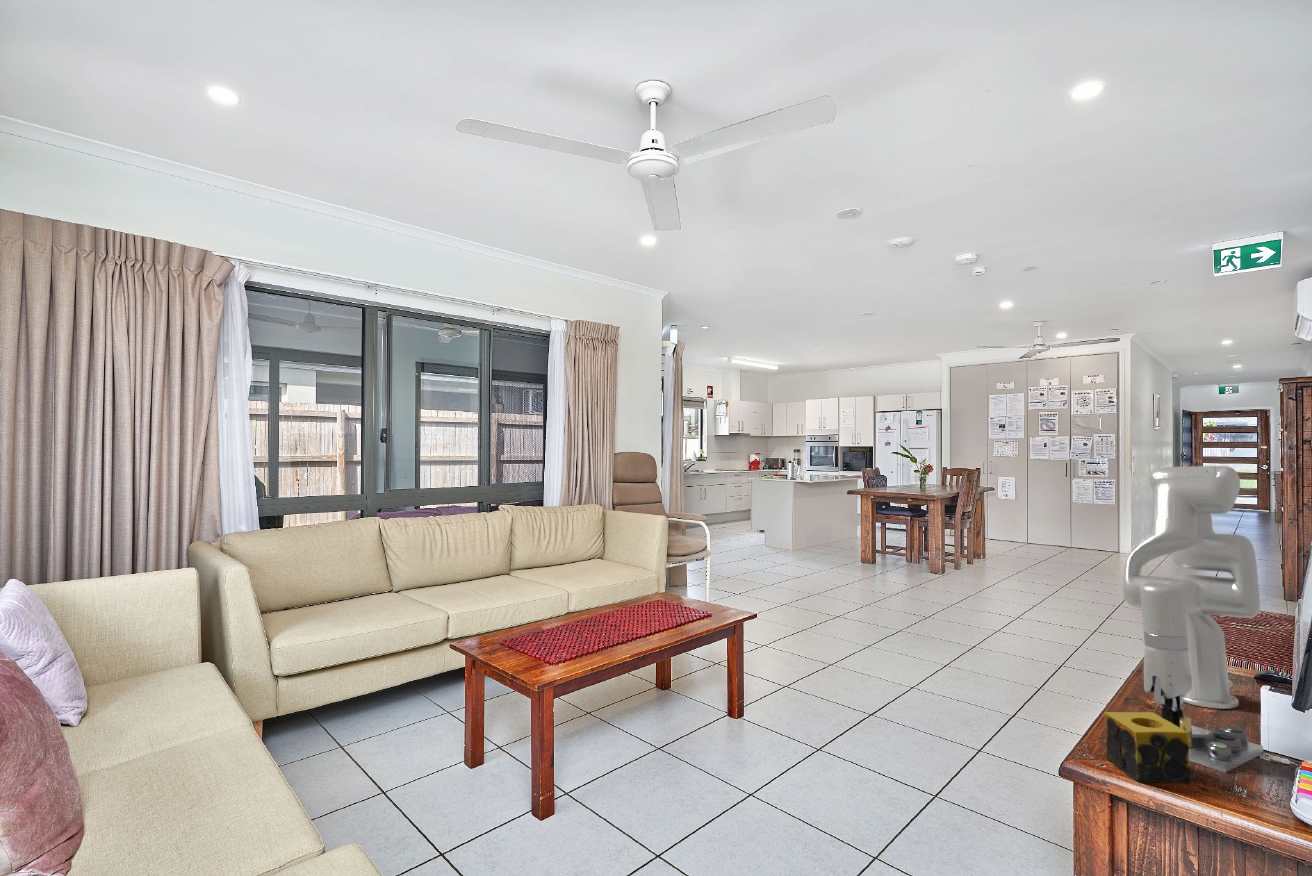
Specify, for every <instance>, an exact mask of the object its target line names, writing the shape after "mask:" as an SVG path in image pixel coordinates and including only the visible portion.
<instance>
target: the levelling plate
mask: <svg viewBox="0 0 1312 876" xmlns="http://www.w3.org/2000/svg"><path fill="white" fill-rule="evenodd" d="M1213 731H1214V730H1210V729H1205V728H1202V727H1198V726H1195V725H1192V734H1198V735H1209V733H1210V732H1213ZM1221 731H1226V732H1230V733H1233V734H1234V735H1235V736H1237V737H1238V738H1240V740H1241V751H1239V752H1231V748H1230V747H1229V746H1227V745H1225V744H1223V743H1220V742H1210V743H1207V748H1206V747H1189V753H1188V755H1189V762H1192V763H1196V764H1199V765H1201V766H1205V767H1208V768H1211V769H1214V770H1217V771H1219V772H1223V773H1225V774H1226V773H1227V772H1229V771H1231V770H1234V769H1235V768H1238V767H1239V766H1242V765H1243V764H1245V763H1247V762H1249V761H1251V760H1253V759H1255V758H1257V757H1258V756H1260V754H1261V753H1262V752H1263V753H1264V746H1263V745H1260V744H1257V743H1254V742H1251V741H1248V732H1247V730H1245V729H1243V728H1240V727H1238V726H1232V725H1224V726H1222V727H1221ZM1261 755H1262V754H1261Z"/></svg>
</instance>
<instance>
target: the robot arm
mask: <svg viewBox="0 0 1312 876" xmlns="http://www.w3.org/2000/svg"><path fill="white" fill-rule="evenodd" d="M1148 478H1149V479H1148V480H1149V484H1150V487H1151V489H1152V501H1151V502H1152V503H1151V516H1150V517H1151V519H1150V532H1149V535H1148V536H1147V537H1146V538H1144V539H1143V540H1141V542H1139V543H1138V544H1137V545H1135V547H1134V548H1133V549H1132V550H1131V551H1130V552H1129V554H1128V556H1127V557H1126V560H1125V562H1124V567H1123V568H1124V569H1123V579H1122V593H1123V594H1122V595H1123V598H1124V600H1125V601H1126V603H1127V604H1128V605H1130V606H1132V607H1134V608H1138V609H1141V615H1142V616H1141V619H1142V627H1143V641H1144V647H1145V648H1144V654H1143V686H1144V689H1143V690H1144V692H1145V693H1146V694H1153V693H1154V695H1153V696H1154V697H1153V701H1154V703H1155V704H1159V707H1160V708H1161V710H1160V711H1161V717H1162V718H1163V719H1165V720H1167V721H1169V722H1171V723H1173V724H1174V725H1176V726H1178V727H1180V726H1179V716H1184V715H1183V709H1184V703H1186V704H1189V705H1193V706H1197V707H1202V708H1210V709H1218V710H1219V709H1221V710H1222V709H1223V710H1225V709H1227V710H1228V709H1235V708H1237V707H1239V705H1240V703H1239V699H1238V698H1237V697H1235V696H1234V695H1231V694H1230V688H1231V687H1233V686H1234V683H1233V681H1231V680H1230V679H1229V673H1228V662H1227V661H1228V660H1227V649H1226V639H1225V634H1224V633H1225V632H1224V630H1223V629H1222V627H1221V626H1220V624H1218V622H1216V620H1214V619H1213V617H1212V616H1222V617H1232V618H1240V619H1242V618H1243V619H1250V618H1251V619H1253V618H1255V617H1257V616H1258V615H1259V612H1260V609H1261V599H1260V597H1261V596H1260V586H1259V585H1260V584H1259V577H1258V576H1259V575H1258V574H1259V573H1258V567H1257V566H1258V565H1257V558H1256V552H1255V548H1254V545H1253V544H1252V541H1251V540H1250V539H1249V538H1248V537H1246V536H1244V535H1240V534H1235V533H1234V534H1231V533H1216V532H1214V530H1213V516H1212V515H1215V514H1216V515H1221V514H1222V515H1224V514H1227V513H1229V512H1230V511H1231V510H1232V509H1233V508H1234V505H1235V503H1236V501H1237V498H1238V496H1239V493H1240V489H1241V480H1240V476H1239V474H1238V472H1237V470H1236V469H1235V468H1233V467H1231V466H1227V465H1207V466H1206V465H1203V466H1192V465H1190V466H1169V467H1168V466H1167V467H1159V468H1157V469H1154V470H1152V471H1151V472H1150V475H1149V477H1148ZM1169 554H1171V555H1172V559H1173V562H1174V564H1175V565H1176V566H1177V567H1179V568H1180V569H1181V568H1182V569H1187V570H1195V571H1205V572H1207V571H1208V572H1219V573H1220V572H1221V573H1228V574H1229V575H1231V576H1232V577H1223V576H1213V575H1202V574H1201V575H1199V574H1179V575H1175V576H1173V577H1167V576H1166V577H1164V576H1154V575H1142V574H1141V573H1142V571H1143V569H1144V567H1145V566H1146V565H1147V564H1148V563H1150V562H1151V561H1153V560H1154V559H1158V558H1160V557H1163V556H1167V555H1169Z"/></svg>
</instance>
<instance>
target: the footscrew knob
mask: <svg viewBox="0 0 1312 876" xmlns="http://www.w3.org/2000/svg"><path fill="white" fill-rule="evenodd" d="M1179 726H1180V728H1181V729H1183V730H1185V731H1187V732H1188V741H1189V747H1206V748H1207V743H1210V742H1220V743H1223V744H1225V745H1227V746H1229V747H1230V748H1231V752H1239V751H1241V740H1240V738H1238V737H1237V736H1235V735H1234V734H1233V733H1230V732H1226V731H1222V730H1220V729H1219V730H1216V729H1215V730H1212V731H1213V732H1210V733H1209V735H1198V734H1192V726H1193V724H1192V718H1191V717H1190V716H1187V715H1183V716H1179Z"/></svg>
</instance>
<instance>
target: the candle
mask: <svg viewBox="0 0 1312 876" xmlns="http://www.w3.org/2000/svg"><path fill="white" fill-rule="evenodd" d="M1104 719H1105V726H1106V731H1107V734H1106V740H1105V746H1106V749H1105V750H1106V752H1105V753H1106V760H1108V761H1109V763H1112V764H1113V765H1114V767H1116V768H1118V769H1119V770H1120V771H1122V772H1123V773H1125V775H1128V776H1129V777H1131V779H1133V780H1134V781H1135V782H1137V783H1141V784H1142V783H1143V784H1145V783H1146V784H1147V783H1148V784H1150V783H1151V784H1153V783H1154V784H1155V783H1156V784H1157V783H1158V784H1178V782H1179V784H1180V783H1181V784H1191V782H1192V778H1191V776H1192V775H1191V774H1192V772H1191V768H1190V761H1189V755H1188V753H1189V741H1188V732H1187V731H1185V730H1183V729H1181V728H1180V727H1178V726H1176V725H1174V724H1173V723H1171V722H1169V721H1167V720H1165V719H1163V718H1162V716H1160V715H1158V714H1157V713H1155V712H1151V711H1147V712H1145V711H1144V712H1137V711H1135V712H1134V711H1133V712H1131V711H1129V712H1128V711H1127V712H1126V711H1125V712H1123V711H1122V712H1121V711H1106V712H1104Z"/></svg>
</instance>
